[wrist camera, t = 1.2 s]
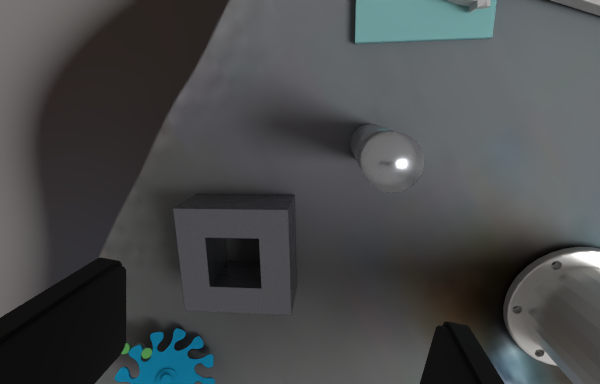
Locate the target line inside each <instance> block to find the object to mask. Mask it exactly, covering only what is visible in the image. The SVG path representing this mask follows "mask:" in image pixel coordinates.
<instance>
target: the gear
mask: <svg viewBox="0 0 600 384" xmlns="http://www.w3.org/2000/svg"><path fill="white" fill-rule="evenodd" d="M185 335H186V332H185V331H183V330H181V329H178V328H177V329H175V331H174V333H173V339H172V342H171V344H170V345H169V346H168V348H167V349H166V350H165V351H163V352H160V351H159V350H158V344H159V343H160V342H161V341H162V340H163V338H164V334H163V332H155V333H152V334H151V336H150V339H151V341H152V344H153V349H152V348H148V347H147V346H146V345H145V344H144V343H135V344H134V345H132V346H131V344H129V343H126V344H125V347H124V350H123V351H122V353H121V354H127V353H129V356H130V357H132V358H133V359H134V360H135V361H136V362H137V363H138V365H139V369H140V374H139V376H138V377H137V378H132V377H131V375H130V371H129V369H128V368H127V367H122V368H121V369H120V370H119V371H118V373H117V374H116V376H115V378H114V379H115V380H116V381H117V382H129V383H131V384H194V383H195V382H197V381H200V382H202V384H215V380H214V379H213V378H211V377H210V378H204V377H201V376H200V375H198V374H197V373H196V372H195V370H194V368H195V366H196V364H198V363H202V364H203V365H204V366H205V367H207V368H210V367H212V366H213V362H214V359H213V355H212V354H208V355H206V356H205V357H203V358H200V359H191V358H189V357H188V355H187V353H188V351H189V350H190V349H192V348H194V349H200V348H202V347H203V345H204V343H203V341H202V339H201V338H200V337H199V336H197V337H195V338H194V340H193V341H192V343H191V344H190V345H189V346H188V347H186V348H185V349H183V350H180V351H177V350H175V348H174V345H175V343H176V342H177V341H179V340H182V339H183V338H184V337H185Z"/></svg>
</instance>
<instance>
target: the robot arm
mask: <svg viewBox="0 0 600 384" xmlns="http://www.w3.org/2000/svg"><path fill="white" fill-rule="evenodd" d="M503 317H504V321H505V325H506V328H507V330H508V332H509V334H510V335H511V337H512V338H513V339H514V341H515V342H516V343H517V345H518V346H519V347H520V348H521V349H522V350H523V351H524V352H526V353H527V354H528V355H530V356H531V357H533V358H534V359H536V360H539V361H542V362H544V363H547V364H551V365H556V366H558V367H559V368H560V369H561V370H562V371H563V372H564V373H565V375H566V376H567V377H568V378H569V379H570V380H571V381H572V382H573V384H600V249H599V248H594V247H573V248H566V249H561V250H558V251H555V252H551V253H549V254H547V255H545V256H543V257H541V258H538V259H537V260H535V261H534V262H532V263H531V264H530V265H528V266H527V267H526V268H525V269H524V270H523V271H522V272H521V273H519V274H518V275H517V277H516V278H515V280H514V281H513V282H512V284H511V285H510V287H509V290H508V292H507V294H506V296H505V301H504V306H503ZM125 344H126V269H125V268H124V267H122V264H121V262H120V261H116V260H111V259H106V258H98V259H96V260H94V261H92V262H91V263H89V264H88V265H86V266H84V267H83V268H81V269H79V270H78V271H76V272H74V273H73V274H71V275H70V276H68V277H67V278H65V279H63V280H61V281H60V282H58V283H56V284H55V285H53V286H52V287H50V288H48V289H47V290H45V291H44V292H42V293H40V294H38V295H37V296H35V297H34V298H32V299H30V300H29V301H27V302H25V303H24V304H22V305H20V306H19V307H17V308H15V309H14V310H12V311H11V312H9V313H7V314H6V315H4V316H3V317H1V318H0V384H95V382H96V381H97V380H98V379H99V378H100V377H101V376H102V375H103V373H104V372H105V371H106V370H107V369H108V368H109V367H110V366H111V364H112V363H113V362H114V361H115V360H116V359H117V358H118V357H119V356H120V354H121V353H122V351H123V350H124V347H125ZM420 384H504V382H503V380H502V379H501V377H500V376H499V374H498V373H497V371H496V369H495V368H494V366H493V365H492V363H491V361H490V360H489V358H488V357H487V355H486V353H485V352H484V350H483V349H482V347H481V345H480V344H479V342H478V341H477V339H476V337H475V336H474V334H473V333H472V331H471V329H470V328H469V327H468V326H467V325H462V324H457V323H452V322H444V324H443V325H442V326H437V327H436V330H435V333H434V336H433V340H432V343H431V347H430V350H429V354H428V357H427V361H426V364H425V368H424V371H423V374H422V378H421V381H420Z"/></svg>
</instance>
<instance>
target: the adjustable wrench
mask: <svg viewBox="0 0 600 384" xmlns="http://www.w3.org/2000/svg"><path fill="white" fill-rule="evenodd" d="M447 1H449V2H451V3H454V4H458V5H462V6H469V13H470V12H473V11H475V10H476V9H478V8H479V9H485V8H488V7H490V0H447ZM551 1H554V2H557V3H560V4H563V5H567V6H570V7H573V8H576V9H580V10H583V11H586V12H589V13H592V14H596V15H599V16H600V0H551Z"/></svg>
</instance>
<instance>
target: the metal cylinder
mask: <svg viewBox="0 0 600 384" xmlns="http://www.w3.org/2000/svg"><path fill="white" fill-rule="evenodd" d="M350 146H351V150H352V152H353V154H354V156H355V158H356V160H357V162H358V164H359V166H360V168H361V170H362V172H363V174H364V175H365V177H366V179H367V181H368V182H369V183H370V184H371V185H372V186H373V187H374V188H376V189H378V190H380V191H383V192H387V193H396V192H401V191H404V190H406V189H408V188H410V187H411V186H412V185H414V184H415V183H416V182H417V180H418V179H419V178H420V176H421V174H422V172H423V169H424V154H423V151H422V148H421V147H420V145H419V144H418V143H417V141H415V140H414V139H413V138H412V137H410V136H408V135H405V134H402V133H399V132H396V131H393V130H390V129H386V128H383V127H380V126H377V125H373V124H367V125H363V126H361V127H359V128H358V129H357V130H356V131H355V132H354V133H353V135H352V137H351V141H350Z"/></svg>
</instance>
